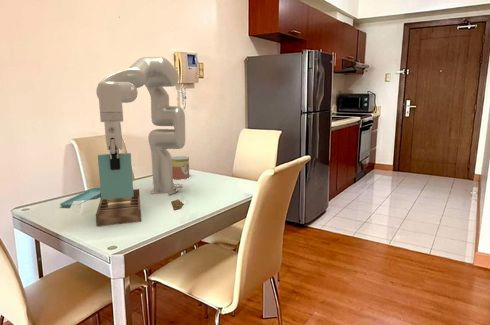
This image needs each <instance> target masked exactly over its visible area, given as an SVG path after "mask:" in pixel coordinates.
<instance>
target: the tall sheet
mask: <svg viewBox="0 0 490 325" xmlns="http://www.w3.org/2000/svg"><path fill="white" fill-rule="evenodd" d="M118 156H119V158H120V170H111V168H110V153H102V154H101V153H100V154H97V162H98V163H97V166H98V175H99V185H100V186H99V188H101V199H100V200H103V199H114V198H126V197H134V194H133V189H134V180H133V169H132V167H133V166H132V154H131V152H124V153H123V152H122V153H120V152H119V154H118Z"/></svg>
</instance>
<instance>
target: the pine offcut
mask: <svg viewBox="0 0 490 325" xmlns="http://www.w3.org/2000/svg"><path fill="white" fill-rule="evenodd" d="M121 206H131V204H130V201H125V202H113V203H108V208H110V207H121Z"/></svg>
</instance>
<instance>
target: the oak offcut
mask: <svg viewBox="0 0 490 325" xmlns="http://www.w3.org/2000/svg"><path fill="white" fill-rule="evenodd" d="M125 201H130V203H131V202H132V197H126V198H114V199H107V205H108V203H113V202H125Z"/></svg>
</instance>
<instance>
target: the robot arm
mask: <svg viewBox="0 0 490 325" xmlns="http://www.w3.org/2000/svg"><path fill="white" fill-rule="evenodd" d="M179 80H180V77H179V72H178V71H177V69H176V67H175V66H174V65H173V64H172V63H171V61H169V60H168V59H167V58H165V57H164V56H142V57H140V58H138V59H137V60H135V62H134V63H133V64H132V65H130V66H129V68H126V69H123V70H120V71H118V72H115V73H114V72H113V73H112V74H110V75H108V76H106V77H104V78H103V79H102V80H101V81H99V82H98V84H97V87H96V90H95V91H96V92H95V93H96V97H97V99H98V105H99V117H100V118H99V120H100V123H104V136H105V142H106V149H107V151H109V154H110V168H111V170H120V158H119V156H118V154H120V151H122V149H124V148H123V136H122V134H123V132H122V122H124V111H123V110H124V109H123V103H125V104H127V103H132V102H134V101H136V100H137V98H138V94H139V93H138V89H139V88H142V87H143V86H145V88H146V90H147V91H148V93H149V96H150V115H151V116H150V117H151V122H152V124H153V125H154V126H156V127H157V126H158V127H173V128H170V129H169V128H158V129H157V128H156V129H152V130H151V131H150V132H149V133H148V144H149V148H150V154H151V169H152V170H151V172H152V187H153V188H152V189H151V190H150V195H159V194H161V195H162V194H167V195H168V196H170V195H174V194H176V193H177V189H183V184H182V183H181V184H180V183H174V180H173V177H172V158H171V157H172V155H171V153H170V152H169V150H180V149H183V148H184V147H185V145H186V115H185V111H184V109H183V108H182V107H181V106H179V105H178V106H175V105H171V106H170V95H169V94H168V92H167V90H166V89H165V88H167V87H170V88H171V87H175V86H177V85H178V83H179ZM164 87H165V88H164Z"/></svg>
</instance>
